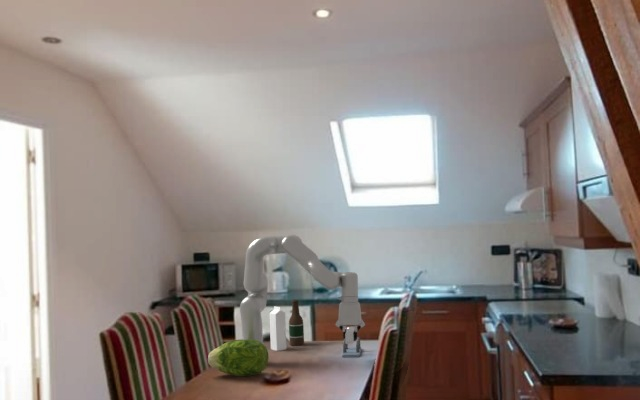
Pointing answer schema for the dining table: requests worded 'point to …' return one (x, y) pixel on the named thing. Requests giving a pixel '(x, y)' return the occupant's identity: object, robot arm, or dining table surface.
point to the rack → (352, 349)
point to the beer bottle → (296, 326)
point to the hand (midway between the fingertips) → (350, 339)
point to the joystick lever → (349, 335)
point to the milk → (277, 329)
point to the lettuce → (239, 357)
